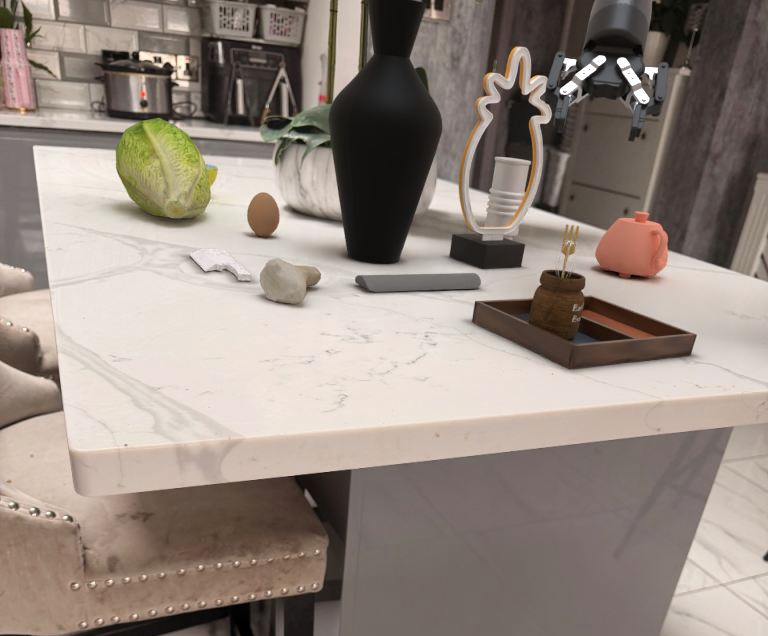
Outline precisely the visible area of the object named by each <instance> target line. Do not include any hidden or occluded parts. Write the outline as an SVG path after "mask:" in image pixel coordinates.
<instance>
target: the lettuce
mask: <svg viewBox="0 0 768 636" xmlns="http://www.w3.org/2000/svg"><path fill="white" fill-rule="evenodd" d="M205 164H206V162H205V160H204V157H203V155H202V153H201V152H200V150H199V148H198V146H197V145H196V144H195V142H194V140H192V138H191V137H190V135H189V134H188V133H187V132H186V131H184V130H183V129H181V128H179V127H178V126H177V125H175V124H173V123H171V122H169V121H167V120H166V119H165V120H164V119H163V118H160V117H155V118H150V119H144V120H140V121H139V122H136V123H135V124H133V125H130V126H129V127H127V128H125V130H124V132H123V134H122V135H121V136H120V139H119V140H118V142H117V144H116V147H115V169H116V173H117V175H118V177H119V180H120V181H121V183H122V185H123V187H124V189H125V191H126V193H127V195H128V197H129V198H130V199H131V201H133V202H134V203H135V204H136V205H137V206H138V207H139V209H141V210H142V211H144V212H146V213H147V214H149V215H152V216H155V217H165V218H170V219H193V218H195V217H197V216H199V215H201V214H203V213H205V212H206V210H207V207H208V205H209V203H210V201H211V197H212V191H211V187H210V183H209V176H208V172H207V168H206V165H205Z"/></svg>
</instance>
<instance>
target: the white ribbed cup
mask: <svg viewBox="0 0 768 636" xmlns="http://www.w3.org/2000/svg"><path fill="white" fill-rule="evenodd" d="M494 161H495V162H494V163H495V164H494V171H493V176H492V183H491V187H490V188H489V190H488V192H489V193H490V194H489V195H488V200H489V201H487V204H486V205H487V206H488V207H486V209H485V212H487V213H486V217H485V221H484V226H483V227H502V226H506V225H507V224H508V223H509V222H510V221H511V219H512V218H513V216H514V215H515V213H516V212H517V210H518V208H519V206H520V204H521V202H522V200H523V198H524V196H525V193H526V191H525V190H526V184H527V180H528V175H529V168H530V166H531V165H532V161H531V160H527V159H521V158H515V157H505V156H494ZM519 231H520V225H519V226H518V227H517V228H516V229H515V230H514V231H512V232H510V233H508V234H504V236H503V238H507V239H510V240H513V241H514V239H513V237H517V236H518V235H519Z"/></svg>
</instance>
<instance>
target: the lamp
mask: <svg viewBox="0 0 768 636" xmlns="http://www.w3.org/2000/svg"><path fill="white" fill-rule="evenodd" d="M518 70H519V77H518V78H519V79H518V80H519V81H518V85H519V88H520V90H521V94H522V95H523V96H527V95H529V97H528V103H529V104H531V105H532V106H534V107H535V108H536V109H538V111H540V115H533V116H531V117H530V118H529V122H528V129H529V134H530V138H531V144H532V163H531V172H530V177H529V182H528V184H527V188H526V191H525V196H524V198H523V200H522V202H521V204H520V206H519V208H518V210H517V212H516V213H515V215H514V216H513V218H512V219H511V221H510V222H509V223H508V224H507V225H506V226H502V227H484V226H479V225H478V224H477V221H476V219H475V216H474V212H473V209H472V204H471V197H470V175H471V167H472V162H473V158H474V155H475V152H476V150H477V147H478V145H479V142H480V140H481V138H482V136H483V134H484V133H485V131H486V129H487V128H488V126H489V125H490V124H491V122H492V121H493V119H494V114H493V113H492V112H491V111H489V109H487V107H486V106H487V105H488V104H498V103H500V101H501V100H502V99H501V95H500V92H499V91H498V90H497V88H496V86H495V84H496V85H497V86H499V87H501V88H502V89H504V90H511V89H512V88H513V87H514V84H515V82H516V79H517V74H518ZM531 74H532V58H531V54H530V51H529V49H528V48H527V47H526V46H515V47H514V48H512V50H511V51H510V53H509V55H508V57H507V63H506V68H505V74H504V76H503V75H502V73H499V72H487V74H485V76H484V77H483V80H482V87H483V90H484V92H485V93H486V95H484V96H481V97H478V98H477V99H476V101H475V103H474V112H475V115H476V116H477V119H478V121H477V122H476V124H475V126H474V127H473V129H472V131H471V133H470V135H469V137H468V140H467V141H466V144H465V147H464V150H463V152H462V157H461V161H460V165H459V172H458V173H459V174H458V199H459V203H460V208H461V213H462V216H463V219H464V221H465V224H466V225H467V227H468V229H470V231H472V232H474V233H452V234H451V235H452V236H451V243H450V249H449V258H452V259H454V260H457V261H460V262H463V263H465V264H468V265H471V266H474V267H477V268H479V269H483V270H488V269H506V268H507V269H508V268H510V269H511V268H522V265H523V260H524V253H525V248H526V243H522V242H520V241H516V240H514V239H513V240H510V239H507V238H503V236H504V234H508V233H510V232H512V231H514V230H515V229H516V228H517V227H518V226H519V227H520V225H521V223H522V222H523V220H524V219H525V217H526V216H527V213H529V211H530V208H531V206H532V204H533V201H534V200H535V197H536V194H537V192H538V189H539V185H540V181H541V177H542V173H543V164H544V144H543V135H542V129H541V125H542V124H543V125H547V124H548V123H549V122H550V121H551V119H552V117H553V113H552V108H551V106H550V104H546V103H545V102H544V100H542V99H541V97H542V96H543V95H545V91H546V84H547V80H548V77H547V76H546V75H540V74H537V75H534V76H533V77H531ZM494 83H495V84H494Z"/></svg>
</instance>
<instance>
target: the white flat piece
mask: <svg viewBox="0 0 768 636" xmlns="http://www.w3.org/2000/svg"><path fill="white" fill-rule="evenodd" d="M188 255H189V256H190V258H191V259H193V261H194V262H195V263H196V264H197V265H198V266H199V267H200V268H201V269H202V270H203V271H204V272H211V271H218V272H223V270H227V271H229V272H230V273H232V274H233V275H234V276H235V277H236V278H237V280H238V281H252V274H251V273H250V272H249V271H248V270H247V269H246V268H244V267H243V266H242V265H241V264H240V263H239V262H237V261H236V260H235V259H234V258H233V257H232V256H231V255H230V254H228V253H227V252H226V251H225V250H224V249H220V248H217V249H216V248H214V247H212V248H208V249H206V248H202V249H201V248H200V249H197V250H196V251H193V252H191V253H188Z"/></svg>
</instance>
